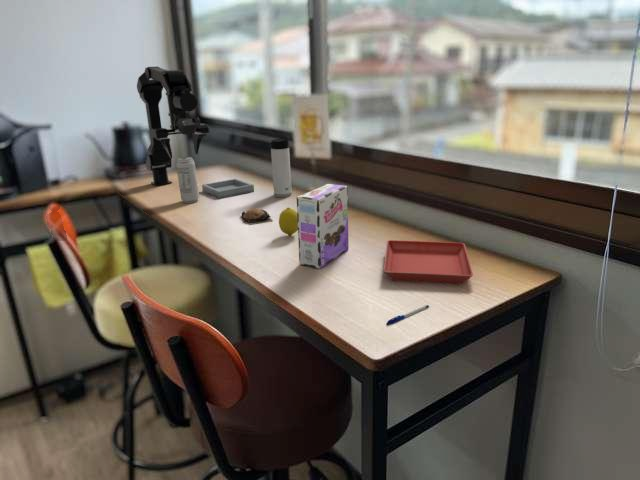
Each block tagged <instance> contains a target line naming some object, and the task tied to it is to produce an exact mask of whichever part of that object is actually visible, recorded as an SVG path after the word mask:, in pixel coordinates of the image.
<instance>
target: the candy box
mask: <svg viewBox="0 0 640 480" xmlns="http://www.w3.org/2000/svg"><path fill="white" fill-rule="evenodd" d="M348 193H349V191H348V185H344V184H343V185H342V184H336V183H335V184H334V183H326V184H324V185H323V186H320V187H318V188H315V189H313V190H311V191H308V192H305V193H303V194H301V195H298V196H296V212H297V219H298V230H297V234H298V235H297V236H298V237H297V238H298V261H299V265H303V266H308V267H310V268H315V269H321V268H324V267H325V266H326V265H327V264H329V263H330V262H332V261H334V260H335V259H337V258H338V257H339V256H341V255H342V254H344V253H345V252H347V251H348V250H349V246H350V245H349V209H348V208H349V203H348V202H349V200H348V199H349V198H348Z"/></svg>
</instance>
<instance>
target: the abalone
mask: <svg viewBox="0 0 640 480" xmlns="http://www.w3.org/2000/svg"><path fill="white" fill-rule="evenodd" d="M271 217H272V216H270V214H269V213H268V211H266V210H264V209H263V208H261V209H260V208H250V209H248V210H247V211H242V212H241V215H240V218H241V220H243V222H244V223H245V224H247V225H249V226H255V225H259V224H265V223H269V222H273V219H272V218H271Z"/></svg>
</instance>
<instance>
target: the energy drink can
mask: <svg viewBox="0 0 640 480" xmlns="http://www.w3.org/2000/svg"><path fill="white" fill-rule="evenodd" d="M195 162H196V161H194V159H193V157H192V156H182V157H178V158H177V161H176V163H175V164H176V172H177V178H178V186H179V193H180V200H181V201H182V202H183V203H184V204H193V203H197V202H198V201H199V199H200V195H199V186H198V180H197V171H196V164H195Z"/></svg>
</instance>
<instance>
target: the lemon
mask: <svg viewBox="0 0 640 480" xmlns="http://www.w3.org/2000/svg"><path fill="white" fill-rule="evenodd" d="M278 217H279V218H278V226H279V228H280V231H281V232H282V233H284V234H285V235H288V236H289V237H291V236H293V235H294V234H295V233H296V232H298V219H297V210H295V209H294V208H291V207H289V206H288V207H286V208H285V209H283V210H282V211H281V212H280V214H279V216H278Z"/></svg>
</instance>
